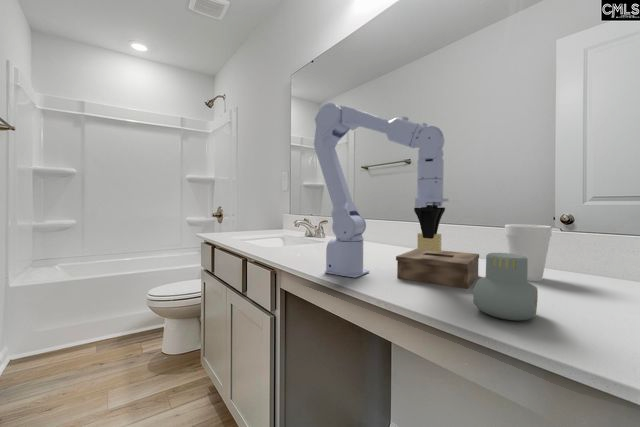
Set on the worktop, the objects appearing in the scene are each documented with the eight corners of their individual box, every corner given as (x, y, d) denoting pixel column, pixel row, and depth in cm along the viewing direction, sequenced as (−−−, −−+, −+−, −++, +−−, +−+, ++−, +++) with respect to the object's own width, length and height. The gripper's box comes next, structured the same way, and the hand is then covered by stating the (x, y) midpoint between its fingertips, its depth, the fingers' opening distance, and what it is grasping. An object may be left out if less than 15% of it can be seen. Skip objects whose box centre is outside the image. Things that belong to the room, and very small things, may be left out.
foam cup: (535, 273, 79) (536, 224, 79) (559, 283, 70) (561, 227, 70) (497, 273, 80) (498, 224, 80) (516, 282, 71) (517, 227, 70)
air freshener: (484, 301, 57) (485, 249, 57) (537, 311, 52) (539, 253, 52) (470, 318, 49) (471, 257, 48) (532, 332, 44) (534, 263, 43)
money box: (395, 278, 74) (395, 256, 74) (417, 267, 87) (417, 248, 87) (466, 289, 65) (467, 264, 65) (478, 275, 78) (479, 253, 77)
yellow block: (417, 250, 72) (417, 233, 72) (419, 249, 73) (419, 232, 73) (439, 252, 69) (439, 234, 69) (441, 251, 70) (441, 234, 70)
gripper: (439, 176, 62) (438, 242, 63) (455, 180, 74) (454, 236, 74) (405, 178, 66) (405, 239, 67) (426, 182, 78) (426, 234, 78)
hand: (429, 237), depth 71 cm, fingers closed on yellow block, 1 cm apart
